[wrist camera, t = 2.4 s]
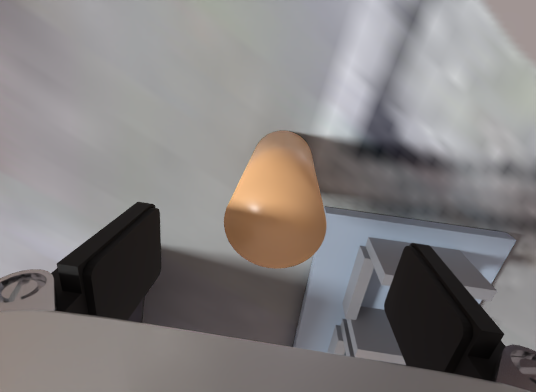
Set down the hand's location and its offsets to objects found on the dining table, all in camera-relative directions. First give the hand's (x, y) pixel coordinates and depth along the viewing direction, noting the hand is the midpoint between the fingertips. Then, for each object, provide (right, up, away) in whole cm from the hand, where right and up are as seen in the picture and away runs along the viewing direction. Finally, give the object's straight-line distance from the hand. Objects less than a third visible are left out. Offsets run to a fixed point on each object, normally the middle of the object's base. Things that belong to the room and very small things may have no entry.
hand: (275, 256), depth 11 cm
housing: (+9, -8, +13) cm, 18 cm away
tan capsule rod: (+1, +5, +8) cm, 10 cm away
